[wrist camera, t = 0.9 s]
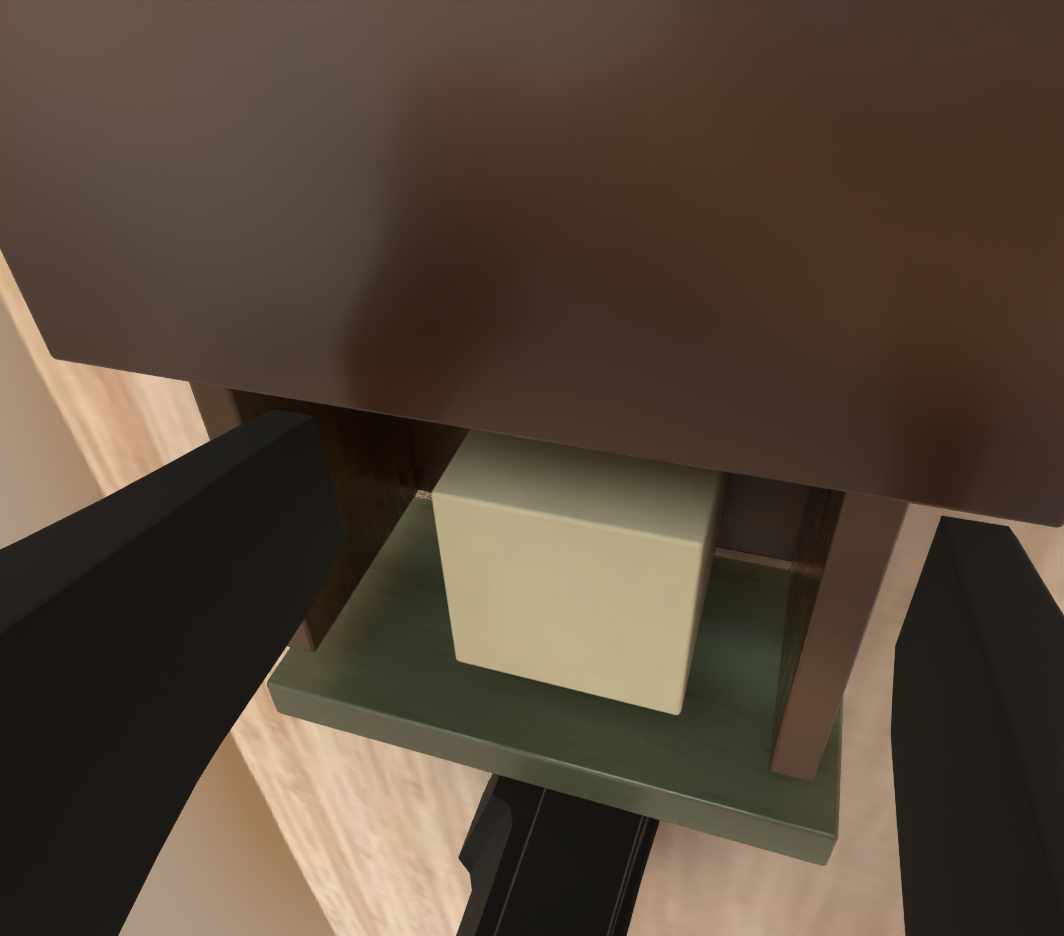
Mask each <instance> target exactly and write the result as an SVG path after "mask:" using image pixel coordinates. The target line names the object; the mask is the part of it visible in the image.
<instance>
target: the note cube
mask: <svg viewBox="0 0 1064 936" xmlns="http://www.w3.org/2000/svg"><path fill="white" fill-rule="evenodd" d="M728 475H729V472H723V471H717V470H711V469H706V468H700V467H694V466H688V465H682V464H676V463H670V462H664V461H658V460H652V459H646V458H640V457H634V456H628V455H622V454H616V453H610V452H605V451H599V450H593V449H587V448H581V447H575V446H569V445H563V444H557V443H551V442H545V441H539V440H533V439H527V438H521V437H515V436H509V435H504V434H498V433H492V432H486V431H480V430H474V429H471V430H470V431H469V433H468V434H467V436H466V438H465V439H464V441H463V442H462V444H461V446H460V447H459V449H458V451H457V452H456V454H455V455H454V457H453V459H452V460H451V462H450V463H449V465H448V467H447V468H446V470H445V472H444V473H443V475H442V476H441V478H440V480H439V481H438V483H437V484H436V486H435V488H434V489H433V491H432V494H431V496H432V503H433V510H434V516H435V523H436V529H437V536H438V543H439V549H440V556H441V562H442V569H443V575H444V582H445V589H446V595H447V602H448V608H449V615H450V621H451V628H452V635H453V641H454V648H455V654H456V659H457V660H458V661H460V662H464V663H468V664H472V665H476V666H480V667H484V668H488V669H492V670H496V671H500V672H504V673H508V674H512V675H516V676H520V677H524V678H528V679H532V680H536V681H540V682H544V683H549V684H553V685H557V686H561V687H565V688H569V689H573V690H577V691H581V692H585V693H589V694H593V695H597V696H601V697H605V698H609V699H613V700H617V701H621V702H625V703H629V704H633V705H637V706H642V707H646V708H650V709H654V710H658V711H662V712H666V713H670V714H674V715H679V714H680V713H681V711H682V706H683V701H684V697H685V692H686V687H687V682H688V678H689V673H690V668H691V663H692V658H693V654H694V649H695V644H696V639H697V635H698V630H699V625H700V620H701V616H702V611H703V606H704V601H705V596H706V592H707V587H708V582H709V577H710V573H711V568H712V563H713V558H714V553H715V549H716V544H717V539H718V534H719V530H720V525H721V520H722V514H723V508H724V501H725V495H726V488H727V482H728Z"/></svg>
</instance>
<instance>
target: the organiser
mask: <svg viewBox="0 0 1064 936" xmlns="http://www.w3.org/2000/svg"><path fill="white" fill-rule="evenodd" d="M0 249H1V252H2V254H3V256H4V258H5V260H6V262H7V264H8V266H9V268H10V270H11V272H12V275H13V277H14V279H15V281H16V283H17V285H18V287H19V289H20V291H21V293H22V296H23V298H24V300H25V302H26V304H27V306H28V308H29V310H30V312H31V314H32V317H33V319H34V321H35V323H36V325H37V327H38V329H39V331H40V333H41V335H42V337H43V340H44V342H45V344H46V346H47V348H48V350H49V352H50V354H51V356H52V357H53V358H55V359H58V360H64V361H70V362H76V363H82V364H88V365H94V366H99V367H105V368H111V369H117V370H123V371H129V372H135V373H141V374H147V375H153V376H159V377H165V378H171V379H177V380H183V381H189V382H195V383H200V384H206V385H212V386H218V387H224V388H230V389H236V390H242V391H248V392H254V393H260V394H266V395H272V396H278V397H284V398H290V399H296V400H301V401H307V402H313V403H319V404H325V405H331V406H337V407H343V408H349V409H355V410H361V411H367V412H373V413H379V414H385V415H391V416H397V417H403V418H408V419H414V420H420V421H426V422H432V423H438V424H444V425H450V426H456V427H462V428H468V429H474V430H480V431H486V432H492V433H498V434H504V435H509V436H515V437H521V438H527V439H533V440H539V441H545V442H551V443H557V444H563V445H569V446H575V447H581V448H587V449H593V450H599V451H605V452H610V453H616V454H622V455H628V456H634V457H640V458H646V459H652V460H658V461H664V462H670V463H676V464H682V465H688V466H694V467H700V468H706V469H711V470H717V471H723V472H729V473H735V474H741V475H747V476H753V477H759V478H765V479H771V480H777V481H783V482H789V483H795V484H801V485H807V486H813V487H818V488H824V489H830V490H836V491H842V492H848V493H854V494H860V495H866V496H872V497H878V498H884V499H890V500H896V501H902V502H908V503H914V504H919V505H925V506H931V507H937V508H943V509H949V510H955V511H961V512H967V513H973V514H979V515H985V516H991V517H997V518H1003V519H1009V520H1015V521H1020V522H1026V523H1032V524H1038V525H1044V526H1050V527H1061V526H1063V525H1064V0H0Z"/></svg>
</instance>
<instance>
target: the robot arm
mask: <svg viewBox="0 0 1064 936" xmlns="http://www.w3.org/2000/svg"><path fill="white" fill-rule="evenodd" d="M346 537H347V532H346V528H345V524H344V521H343V517H342V513H341V510H340V506H339V502H338V498H337V495H336V491H335V487H334V483H333V480H332V476H331V472H330V469H329V465H328V461H327V457H326V454H325V450H324V446H323V442H322V439H321V435H320V431H319V427H318V424H317V420H316V416H311V415H304V414H298V413H292V412H286V411H279V410H272V411H269V412H267V413H265V414H263V415H260V416H258V417H256V418H254V419H252V420H250V421H248V422H246V423H244V424H242V425H240V426H238V427H236V428H234V429H232V430H230V431H228V432H226V433H224V434H222V435H220V436H219V437H217V438H215V439H213V440H211V441H209V442H207V443H205V444H204V445H202V446H200V447H198V448H196V449H194V450H192V451H191V452H189V453H187V454H185V455H183V456H181V457H180V458H178V459H176V460H174V461H172V462H170V463H169V464H167V465H165V466H163V467H161V468H159V469H157V470H156V471H154V472H152V473H150V474H148V475H146V476H144V477H143V478H141V479H139V480H137V481H135V482H133V483H131V484H130V485H128V486H126V487H124V488H122V489H120V490H118V491H117V492H115V493H113V494H111V495H109V496H107V497H105V498H103V499H102V500H100V501H98V502H96V503H94V504H92V505H90V506H88V507H86V508H84V509H81V510H80V511H78V512H75V513H74V514H71V515H70V516H67V517H65V518H63V519H62V520H59V521H57V522H55V523H54V524H52V525H49V526H47V527H45V528H43V529H41V530H40V531H38V532H35V533H33V534H32V535H29V536H28V537H26V538H23V539H22V540H19V541H17V542H15V543H13V544H11V545H9V546H7V547H5V548H2V549H0V936H118V935H119V933H120V931H121V928H122V927H123V924H124V923H125V921H126V919H127V917H128V915H129V913H130V911H131V909H132V907H133V905H134V903H135V901H136V899H137V896H138V894H139V893H140V891H141V889H142V887H143V885H144V883H145V880H146V878H147V876H148V874H149V872H150V870H151V868H152V866H153V864H154V862H155V860H156V858H157V856H158V854H159V852H160V850H161V849H162V847H163V845H164V843H165V841H166V839H167V837H168V836H169V834H170V832H171V830H172V828H173V826H174V824H175V823H176V821H177V819H178V817H179V815H180V813H181V811H182V810H183V807H184V806H185V804H186V802H187V800H188V798H189V796H190V795H191V793H192V791H193V789H194V787H195V785H196V783H197V782H198V780H199V778H200V777H201V775H202V773H203V772H204V770H205V769H206V767H207V765H208V764H209V762H210V760H211V759H212V757H213V756H214V754H215V752H216V751H217V749H218V747H219V746H220V744H221V743H222V741H223V740H224V738H225V737H226V735H227V734H228V733H229V731H230V730H231V728H232V727H233V725H234V724H235V722H236V721H237V719H238V718H239V716H240V715H241V713H242V712H243V710H244V709H245V707H246V706H247V704H248V703H249V701H250V700H251V698H252V697H253V695H254V694H255V692H256V691H257V689H258V688H259V687H260V685H261V684H262V682H263V681H264V679H265V678H266V676H267V675H268V673H269V672H270V670H271V669H272V667H273V666H274V664H275V663H276V661H277V660H278V658H279V657H280V655H281V654H282V652H283V651H284V649H285V648H286V646H287V645H288V643H289V642H290V640H291V639H292V637H293V636H294V634H295V633H296V631H297V630H298V628H299V627H300V625H301V624H302V622H303V621H304V619H305V617H306V616H307V614H308V613H309V611H310V610H311V608H312V607H313V605H314V603H315V602H316V600H317V598H318V596H319V594H320V592H321V590H322V588H323V586H324V584H325V582H326V580H327V578H328V576H329V574H330V572H331V570H332V568H333V566H334V563H335V561H336V559H337V557H338V555H339V553H340V550H341V548H342V546H343V544H344V542H345V540H346ZM891 744H892V760H893V774H894V788H895V802H896V816H897V829H898V842H899V856H900V869H901V882H902V895H903V909H904V922H905V935H906V936H1064V615H1063V613H1062V612H1061V610H1060V608H1059V607H1058V605H1057V604H1056V602H1055V600H1054V599H1053V597H1052V595H1051V594H1050V592H1049V590H1048V589H1047V587H1046V585H1045V584H1044V582H1043V580H1042V579H1041V577H1040V575H1039V574H1038V572H1037V570H1036V569H1035V567H1034V565H1033V564H1032V562H1031V560H1030V559H1029V557H1028V555H1027V554H1026V552H1025V550H1024V549H1023V547H1022V545H1021V544H1020V542H1019V540H1018V539H1017V537H1016V536H1015V534H1014V533H1013V532H1012V530H1011V529H1010V528H1009V526H1003V525H997V524H990V523H984V522H978V521H972V520H965V519H959V518H953V517H946V516H941V519H940V522H939V524H938V527H937V530H936V533H935V536H934V538H933V541H932V544H931V547H930V550H929V552H928V555H927V558H926V561H925V564H924V567H923V569H922V572H921V575H920V578H919V581H918V583H917V586H916V589H915V592H914V595H913V597H912V600H911V603H910V606H909V609H908V612H907V614H906V617H905V620H904V623H903V626H902V628H901V631H900V634H899V637H898V640H897V643H896V645H895V661H894V678H893V696H892V719H891Z"/></svg>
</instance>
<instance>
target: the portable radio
mask: <svg viewBox="0 0 1064 936" xmlns="http://www.w3.org/2000/svg"><path fill="white" fill-rule="evenodd" d="M659 821H660V820H658V819H654V818H651V817H647V816H644V815H640V814H636V813H633V812H629V811H626V810H622V809H619V808H615V807H612V806H608V805H605V804H601V803H597V802H594V801H590V800H587V799H583V798H580V797H576V796H573V795H569V794H565V793H562V792H558V791H555V790H551V789H548V788H544V787H541V786H537V785H534V784H530V783H526V782H523V781H519V780H516V779H512V778H509V777H505V776H502V775H498V774H494V773H493V775H492V777H491V778H490V780H489V782H488V784H487V786H486V789H485V791H484V793H483V796H482V798H481V801H480V803H479V806H478V808H477V811H476V814H475V816H474V819H473V821H472V824H471V826H470V829H469V832H468V834H467V837H466V839H465V842H464V845H463V847H462V850H461V852H460V855H459V857H458V858H459V860H460V861H461V862H462V864H463V865H464V866H465V868H466V869H467V870H468V872H469V873H470V878H471V887H472V892H471V895H470V898H469V901H468V903H467V906H466V909H465V912H464V915H463V918H462V921H461V924H460V926H459V929H458V932H457V935H456V936H627V932H628V928H629V925H630V921H631V917H632V913H633V910H634V906H635V902H636V899H637V895H638V891H639V888H640V884H641V880H642V876H643V873H644V870H645V867H646V863H647V860H648V857H649V854H650V850H651V847H652V844H653V841H654V837H655V834H656V831H657V828H658V825H659Z"/></svg>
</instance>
